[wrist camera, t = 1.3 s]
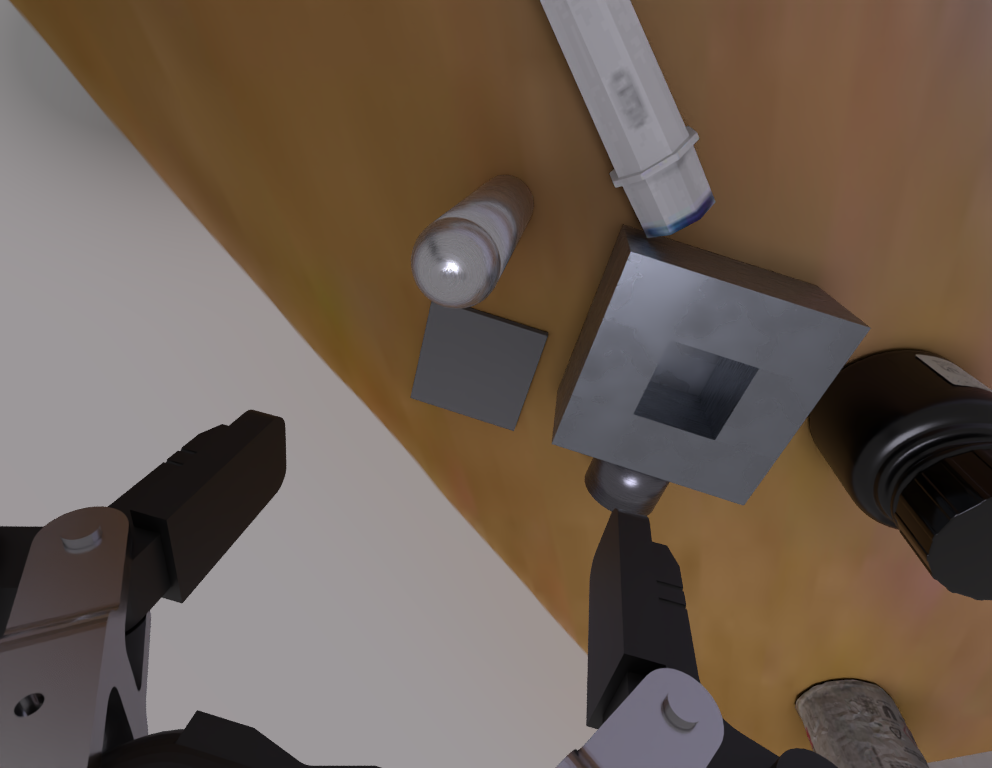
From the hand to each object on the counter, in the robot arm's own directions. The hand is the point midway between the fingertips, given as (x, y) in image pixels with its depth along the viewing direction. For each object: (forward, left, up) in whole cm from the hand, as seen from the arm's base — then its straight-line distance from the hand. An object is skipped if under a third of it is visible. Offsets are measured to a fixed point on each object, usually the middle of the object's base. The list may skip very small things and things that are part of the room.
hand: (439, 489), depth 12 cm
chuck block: (+11, -5, -23) cm, 25 cm away
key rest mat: (-1, -9, -23) cm, 24 cm away
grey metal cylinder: (-2, +2, -23) cm, 23 cm away
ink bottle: (+25, -3, -23) cm, 34 cm away
